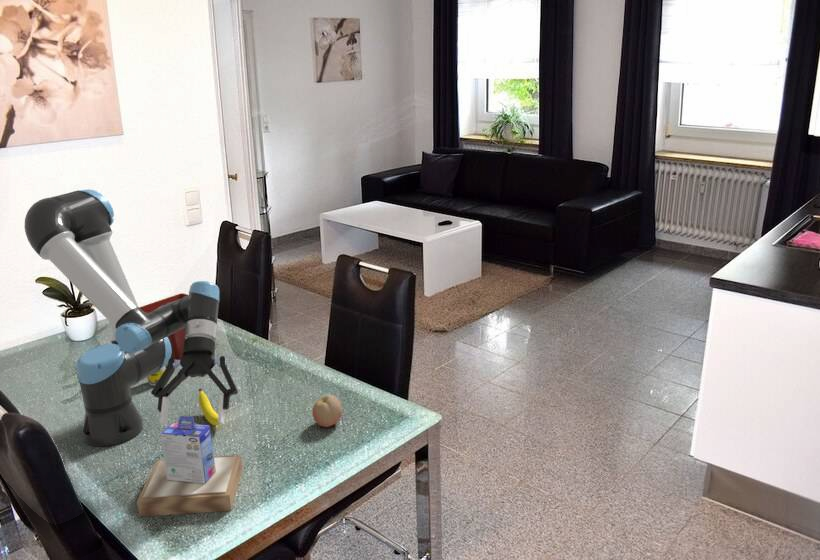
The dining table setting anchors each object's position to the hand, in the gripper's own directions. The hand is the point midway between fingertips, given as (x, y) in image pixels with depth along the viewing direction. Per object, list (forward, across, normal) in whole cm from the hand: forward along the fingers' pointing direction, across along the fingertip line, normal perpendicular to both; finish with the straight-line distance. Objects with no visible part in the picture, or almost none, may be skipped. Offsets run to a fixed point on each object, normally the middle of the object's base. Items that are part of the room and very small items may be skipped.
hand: (191, 424), depth 165 cm
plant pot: (-42, -23, +61) cm, 78 cm away
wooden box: (+15, +1, +3) cm, 15 cm away
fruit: (-4, +30, +23) cm, 38 cm away
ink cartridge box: (+12, +1, 0) cm, 12 cm away
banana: (-7, -2, +26) cm, 27 cm away
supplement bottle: (-26, -25, +45) cm, 57 cm away
